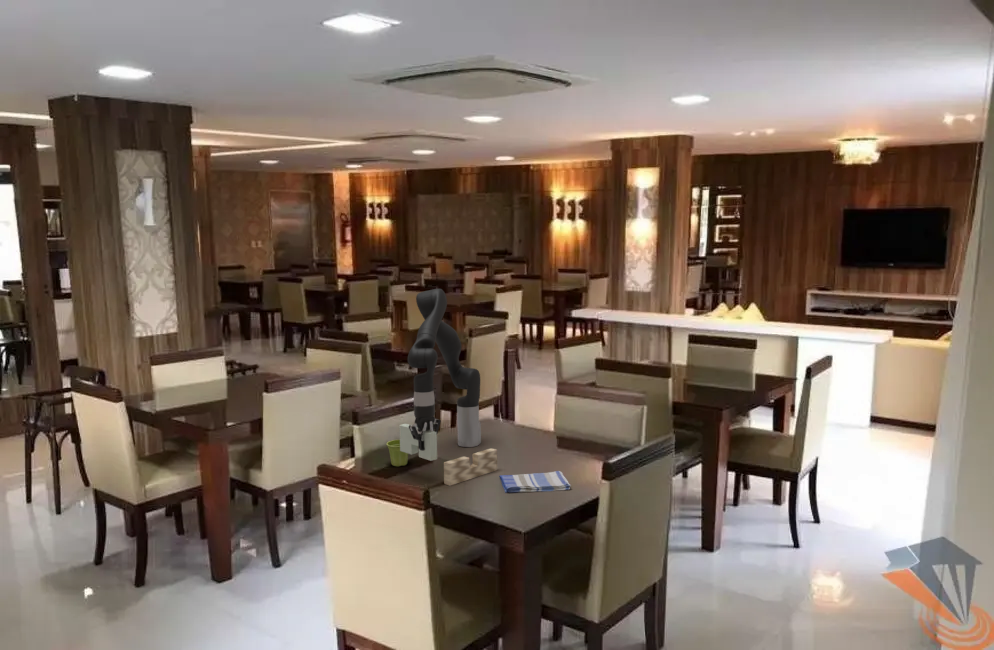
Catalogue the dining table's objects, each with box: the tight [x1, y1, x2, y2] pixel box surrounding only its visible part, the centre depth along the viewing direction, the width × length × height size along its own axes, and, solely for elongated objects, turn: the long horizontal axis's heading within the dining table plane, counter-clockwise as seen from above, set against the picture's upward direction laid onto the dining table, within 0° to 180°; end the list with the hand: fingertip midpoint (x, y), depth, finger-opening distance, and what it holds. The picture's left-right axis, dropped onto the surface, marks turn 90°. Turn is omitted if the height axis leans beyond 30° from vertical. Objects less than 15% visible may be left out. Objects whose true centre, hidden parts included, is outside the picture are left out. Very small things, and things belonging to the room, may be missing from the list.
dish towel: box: [499, 470, 572, 494], centre depth 262 cm, size 17×24×3 cm
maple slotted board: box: [443, 448, 498, 486], centre depth 270 cm, size 24×3×8 cm, turn 135°
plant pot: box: [386, 439, 409, 467], centre depth 287 cm, size 9×9×9 cm
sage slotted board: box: [398, 423, 438, 462], centre depth 269 cm, size 3×18×10 cm, turn 45°
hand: (425, 448), depth 266 cm, fingers closed on sage slotted board, 3 cm apart
